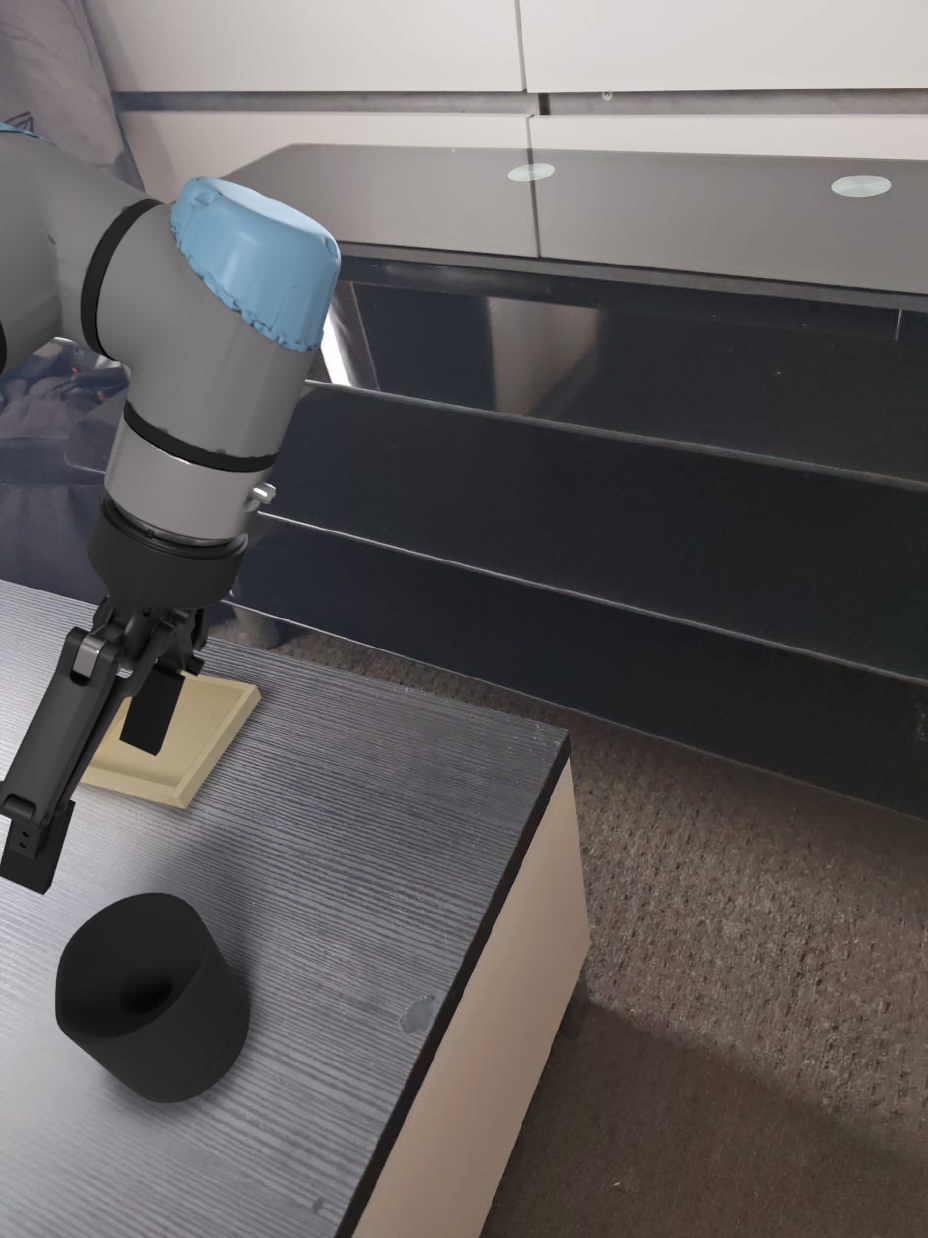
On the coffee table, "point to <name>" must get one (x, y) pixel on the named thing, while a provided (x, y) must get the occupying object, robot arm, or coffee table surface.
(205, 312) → the robot arm
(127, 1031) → the pen holder
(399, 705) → the coffee table surface
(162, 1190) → the coffee table surface
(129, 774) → the pad
